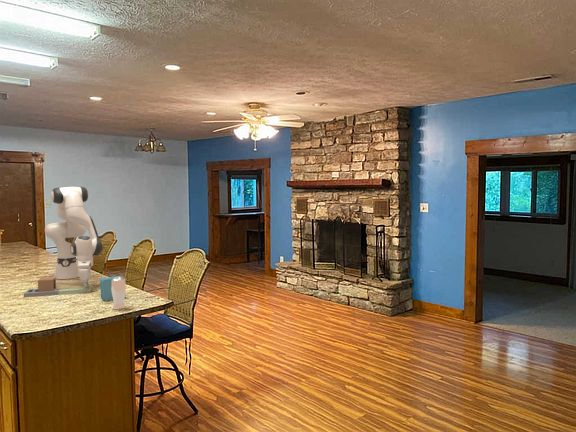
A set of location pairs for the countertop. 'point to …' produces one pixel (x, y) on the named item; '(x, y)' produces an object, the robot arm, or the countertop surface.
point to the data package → (107, 288)
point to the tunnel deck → (53, 288)
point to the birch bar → (69, 285)
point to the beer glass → (118, 292)
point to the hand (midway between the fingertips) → (86, 285)
